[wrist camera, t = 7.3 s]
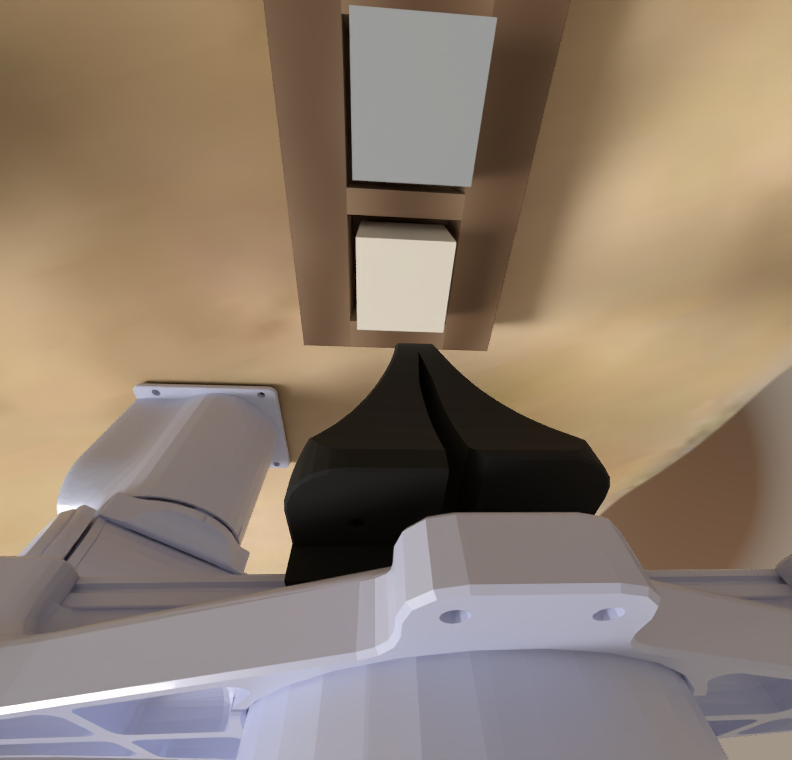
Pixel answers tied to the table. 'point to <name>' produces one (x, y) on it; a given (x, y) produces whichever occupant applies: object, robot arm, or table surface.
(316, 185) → the frame
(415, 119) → the key slate
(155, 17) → the table surface
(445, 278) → the key ivory
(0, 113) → the table surface
